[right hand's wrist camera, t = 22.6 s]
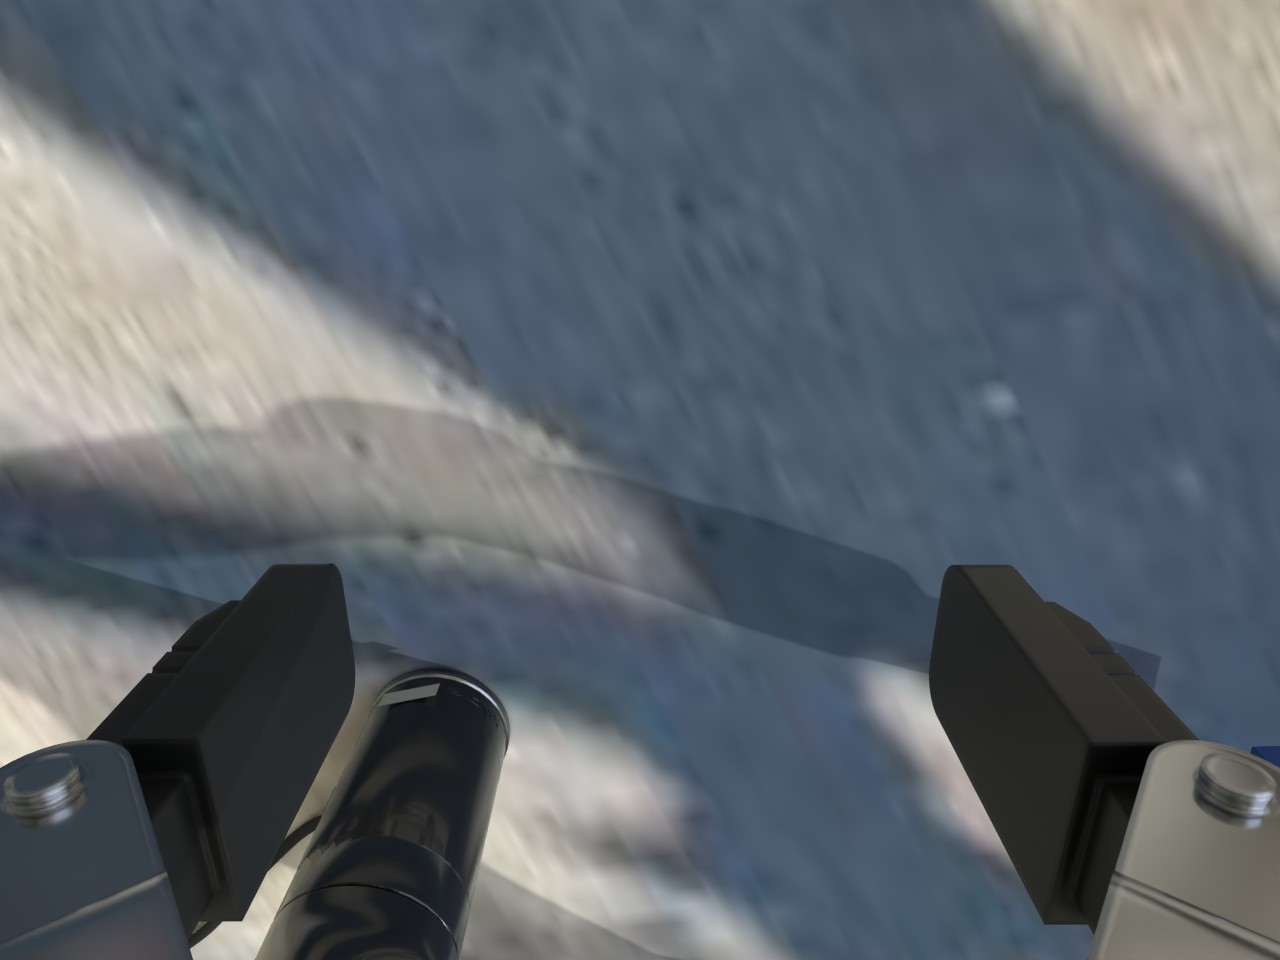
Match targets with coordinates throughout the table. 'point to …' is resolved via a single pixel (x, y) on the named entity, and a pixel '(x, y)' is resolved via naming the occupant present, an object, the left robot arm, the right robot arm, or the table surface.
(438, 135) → the table surface
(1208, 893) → the right robot arm
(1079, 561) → the table surface
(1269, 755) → the block
